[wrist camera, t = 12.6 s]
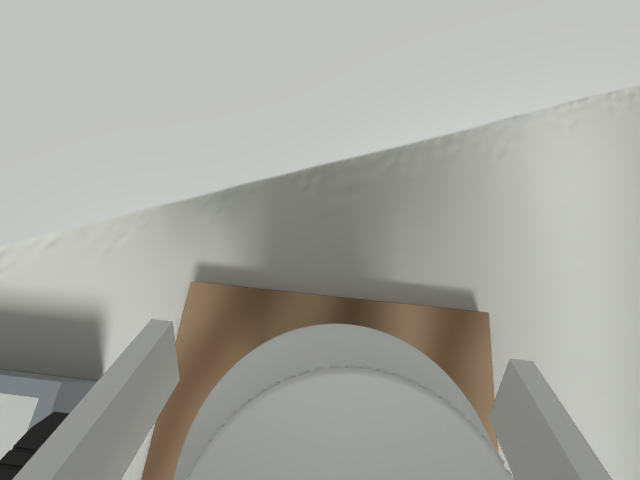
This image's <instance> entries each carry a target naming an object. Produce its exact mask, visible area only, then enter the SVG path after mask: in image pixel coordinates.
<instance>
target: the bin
mask: <svg viewBox="0 0 640 480" xmlns="http://www.w3.org/2000/svg"><path fill="white" fill-rule="evenodd" d="M96 383H97V381H94V380H86V379H77V378H69V377H61V376H52V375H44V374H36V373H27V372H19V371H11V370H2V369H0V393H4V394H13V395H21V396H29V397H37V398H39V401H38V403H37V406H36V409H35V412H34V414H33V417H32V420H31V422H30V425H29V428H28V430H29V429H30V428H31V427H32V426H34V425H35V424H37V423H38V422H40V421H41V420H43V419H44V418H46V417H47V416H48V415H50V414H51V413H53V412H54V411H55V412H63V413H71V411H72V410H73V409H74V408H75V407H76V406H77V405H78V403H79V402H80V401H81V400H82V399H83V398H84V396H85V395H86V394H87V393H88V392H89V391H90V390H91V388H92V387H93V386H94V385H95V384H96Z"/></svg>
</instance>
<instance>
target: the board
mask: <svg viewBox="0 0 640 480" xmlns="http://www.w3.org/2000/svg"><path fill="white" fill-rule="evenodd" d="M320 324H350V325H358V326H363V327H368V328H372V329H375V330H379V331H382V332H384V333H387V334H390V335H392V336H394V337H396V338H399V339H401V340H403V341H404V342H406V343H408V344H410V345H411V346H413V347H415V348H416V349H418V350H419V351H421V352H422V353H423V354H425V355H426V356H427V357H429V358H430V359H431V360H432V361H434V362H435V363H436V364H437V365H438V366H439V367H440V368H441V369H442V370H443V371H445V373H446V374H447V375H448V376H449V377H450V378H451V379H452V380H453V381H454V382H455V383H456V385H457V386H458V387H459V388H460V390H461V391H462V392H463V394H464V395H465V396H466V398H467V399H468V401H469V402H470V404H471V405H472V407H473V408H474V410H475V411H476V413H477V415H478V416H479V418H480V420H481V422H482V423H483V425H484V427H485V429H486V431H487V433H488V436H489V438H490V440H491V442H492V445H493V447H494V450H495V452H497V453H498V443H497V436H496V433H495V431H494V429H493V426H492V424H491V422H490V419H489V414H490V411H491V409H492V406H493V403H494V401H495V400H494V385H493V371H492V356H491V342H490V327H489V313H487V312H477V311H468V310H458V309H449V308H439V307H430V306H420V305H411V304H401V303H392V302H382V301H372V300H363V299H353V298H344V297H334V296H325V295H315V294H306V293H296V292H287V291H277V290H268V289H258V288H248V287H239V286H229V285H220V284H210V283H201V282H191V284H190V288H189V292H188V296H187V300H186V304H185V308H184V312H183V316H182V320H181V324H180V328H179V332H178V336H177V340H176V344H175V346H176V354H177V363H178V371H179V382H178V384H177V385H176V387H175V389H174V391H173V392H172V394H171V396H170V397H169V399H168V401H167V402H166V404H165V406H164V407H163V409H162V411H161V413H160V414H159V416H158V418H157V420H156V424H155V428H154V432H153V436H152V440H151V444H150V448H149V452H148V456H147V460H146V464H145V468H144V472H143V476H142V480H174V475H175V471H176V467H177V463H178V460H179V456H180V453H181V450H182V447H183V445H184V442H185V439H186V437H187V434H188V432H189V429H190V427H191V425H192V423H193V421H194V419H195V417H196V415H197V413H198V411H199V410H200V408H201V406H202V404H203V403H204V401H205V400H206V398H207V397H208V395H209V394H210V392H211V391H212V390H213V388H214V387H215V386H216V384H217V383H218V382H219V381H220V380H221V378H222V377H223V376H224V375H225V374H226V373H227V372H228V371H229V370H230V369H231V368H232V367H233V366H234V365H235V364H236V363H237V362H238V361H239V360H241V359H242V358H243V357H244V356H246V355H247V354H248V353H250V352H251V351H252V350H254V349H255V348H257V347H258V346H260V345H262V344H263V343H265V342H267V341H269V340H271V339H273V338H275V337H277V336H279V335H281V334H284V333H286V332H289V331H292V330H295V329H299V328H303V327H307V326H313V325H320Z"/></svg>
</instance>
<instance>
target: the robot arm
mask: <svg viewBox="0 0 640 480" xmlns="http://www.w3.org/2000/svg"><path fill="white" fill-rule="evenodd" d="M178 382H179V371H178V363H177V354H176V346H175V338H174V329H173V322H172V321H163V320H154V319H151V321H150V322H149V323H148V324H147V325H146V326H145V327H144V329H143V330H142V331H141V332H140V333H139V334H138V335H137V337H136V338H135V339H134V340H133V341H132V342H131V344H130V345H129V346H128V347H127V348H126V349H125V350H124V352H123V353H122V354H121V355H120V356H119V357H118V358H117V360H116V361H115V362H114V363H113V364H112V365H111V367H110V368H109V369H108V370H107V371H106V372H105V373H104V375H103V376H102V377H101V378H100V379H99V380H98V381H97V383H96V384H95V385H94V386H93V387H92V388H91V390H90V391H89V392H88V393H87V394H86V395H85V396H84V398H83V399H82V400H81V401H80V402H79V403H78V405H77V406H76V407H75V408H74V409H73V410H72V411H71V413H63V412H55V411H54V412H53V413H51V414H50V415H48V416H47V417H46V418H44V419H43V420H41V421H40V422H38V423H37V424H35V425H34V426H32V427H31V428H30V429H29V430H28V431H27V432H26V434H25V435H24V436H23V437H22V438H21V439H20V440H19V441H18V442H17V443H16V444H15V445H14V446H13V449H12V450H9V452H8V453H7V454H6V455H5V456H4V457H3V458H2V459H1V460H0V480H121V479H122V477H123V475H124V474H125V472H126V470H127V468H128V467H129V465H130V463H131V462H132V460H133V458H134V457H135V455H136V453H137V452H138V450H139V448H140V446H141V445H142V443H143V441H144V440H145V438H146V436H147V435H148V433H149V431H150V429H151V428H152V426H153V424H154V423H155V421H156V419H157V418H158V416H159V414H160V413H161V411H162V409H163V407H164V406H165V404H166V402H167V401H168V399H169V397H170V396H171V394H172V392H173V391H174V389H175V387H176V385H177V384H178ZM489 419H490V422H491V424H492V426H493V429H494V431H495V433H496V436H497V438H498V441H499V443H500V445H501V448H502V450H503V452H504V455H505V457H506V460H507V462H508V464H509V467H510V469H511V471H512V474H513V476H514V479H515V480H612V478H611V477H610V475H609V474H608V473H607V471H606V470H605V468H604V467H603V465H602V464H601V462H600V461H599V459H598V458H597V456H596V455H595V453H594V452H593V450H592V449H591V447H590V446H589V444H588V443H587V441H586V440H585V438H584V437H583V435H582V434H581V432H580V431H579V429H578V428H577V426H576V425H575V423H574V422H573V420H572V419H571V417H570V416H569V414H568V413H567V411H566V410H565V408H564V407H563V405H562V404H561V402H560V401H559V399H558V398H557V396H556V395H555V393H554V392H553V390H552V389H551V388H550V386H549V385H548V383H547V382H546V380H545V379H544V377H543V376H542V374H541V373H540V371H539V370H538V368H537V367H536V365H535V364H534V362H533V361H525V360H515V359H510V360H509V363H508V365H507V368H506V371H505V374H504V376H503V379H502V382H501V384H500V387H499V390H498V393H497V395H496V398H495V401H494V403H493V406H492V409H491V411H490V414H489Z"/></svg>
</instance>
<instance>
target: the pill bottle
mask: <svg viewBox="0 0 640 480" xmlns="http://www.w3.org/2000/svg"><path fill="white" fill-rule="evenodd" d="M174 480H514V478H513V476H512V474H511V473H510V471H508V470H506V468H505V467H504V461H503V460H502V458H501V456H500V455H499V454H498V453H497V452H495V450H494V447H493V445H492V442H491V440H490V438H489V436H488V433H487V431H486V429H485V427H484V425H483V423H482V422H481V420H480V418H479V416H478V415H477V413H476V411H475V410H474V408H473V407H472V405H471V404H470V402H469V401H468V399H467V398H466V396H465V395H464V394H463V392H462V391H461V390H460V388H459V387H458V386H457V385H456V383H455V382H454V381H453V380H452V379H451V378H450V377H449V376H448V375H447V374H446V373H445V371H443V370H442V369H441V368H440V367H439V366H438V365H437V364H436V363H435V362H434V361H432V360H431V359H430V358H429V357H427V356H426V355H425V354H423V353H422V352H421V351H419V350H418V349H416V348H415V347H413V346H411V345H410V344H408V343H406V342H404V341H403V340H401V339H399V338H396V337H394V336H392V335H390V334H387V333H384V332H382V331H379V330H375V329H372V328H368V327H363V326H358V325H350V324H320V325H313V326H307V327H303V328H299V329H295V330H292V331H289V332H286V333H284V334H281V335H279V336H277V337H275V338H273V339H271V340H269V341H267V342H265V343H263V344H262V345H260V346H258V347H257V348H255V349H254V350H252V351H251V352H250V353H248V354H247V355H246V356H244V357H243V358H242V359H241V360H239V361H238V362H237V363H236V364H235V365H234V366H233V367H232V368H231V369H230V370H229V371H228V372H227V373H226V374H225V375H224V376H223V377H222V378H221V380H220V381H219V382H218V383H217V384H216V386H215V387H214V388H213V390H212V391H211V392H210V394H209V395H208V397H207V398H206V400H205V401H204V403H203V404H202V406H201V408H200V410H199V411H198V413H197V415H196V417H195V419H194V421H193V423H192V425H191V427H190V429H189V432H188V434H187V437H186V439H185V442H184V445H183V447H182V450H181V453H180V456H179V460H178V463H177V467H176V471H175V475H174Z"/></svg>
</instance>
